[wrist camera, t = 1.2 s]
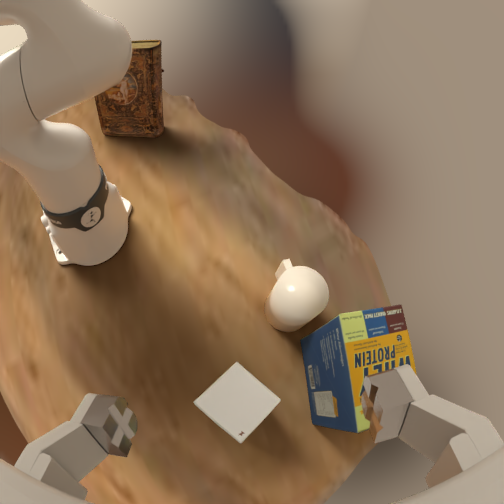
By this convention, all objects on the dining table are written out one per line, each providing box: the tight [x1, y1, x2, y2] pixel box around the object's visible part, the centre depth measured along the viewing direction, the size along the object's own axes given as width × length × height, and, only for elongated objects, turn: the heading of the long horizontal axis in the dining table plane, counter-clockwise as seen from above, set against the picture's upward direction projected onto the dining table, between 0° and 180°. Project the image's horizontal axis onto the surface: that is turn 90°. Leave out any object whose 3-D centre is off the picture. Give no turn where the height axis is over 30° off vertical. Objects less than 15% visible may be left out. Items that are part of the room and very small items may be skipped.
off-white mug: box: [264, 259, 329, 332], centre depth 44 cm, size 10×8×9 cm
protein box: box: [300, 305, 417, 433], centre depth 36 cm, size 10×15×16 cm
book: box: [95, 40, 164, 138], centre depth 53 cm, size 16×6×25 cm, turn 86°
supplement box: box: [194, 362, 281, 443], centre depth 34 cm, size 7×7×13 cm
